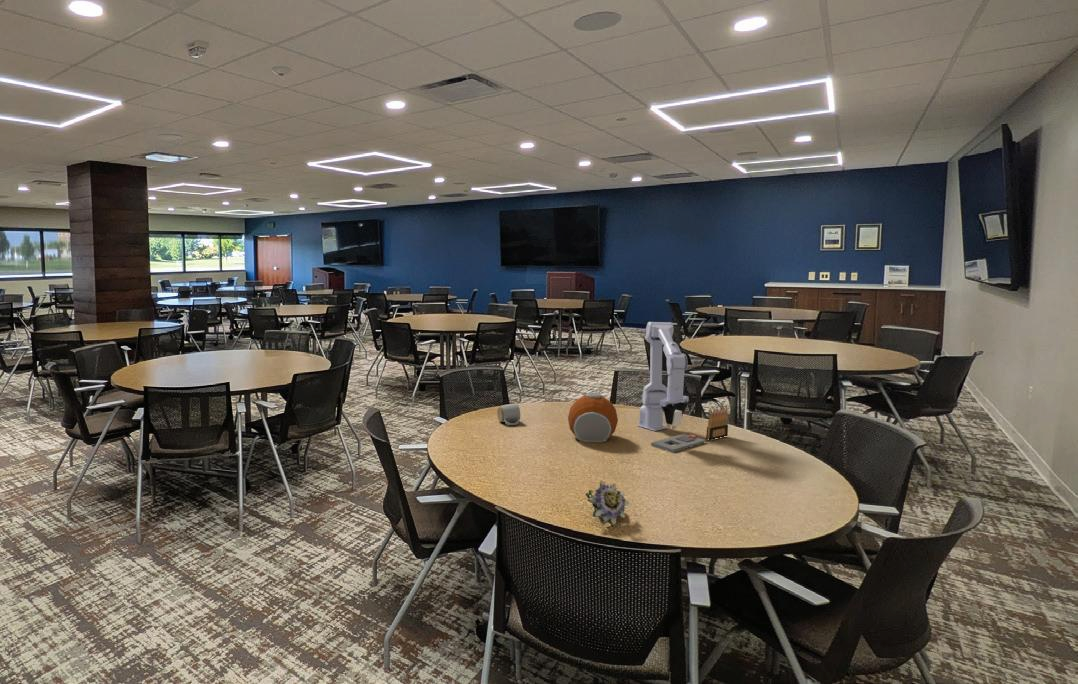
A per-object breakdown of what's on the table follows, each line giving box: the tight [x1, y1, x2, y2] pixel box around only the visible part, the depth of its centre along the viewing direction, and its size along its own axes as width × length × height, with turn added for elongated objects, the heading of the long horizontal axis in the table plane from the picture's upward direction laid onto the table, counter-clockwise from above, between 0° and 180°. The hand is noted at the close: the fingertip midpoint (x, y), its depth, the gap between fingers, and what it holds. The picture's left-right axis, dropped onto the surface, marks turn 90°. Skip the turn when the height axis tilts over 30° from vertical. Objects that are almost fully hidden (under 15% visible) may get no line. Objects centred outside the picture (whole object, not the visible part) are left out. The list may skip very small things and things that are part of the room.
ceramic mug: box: [496, 403, 521, 426], centre depth 239 cm, size 11×8×8 cm
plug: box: [663, 410, 683, 431], centre depth 213 cm, size 4×4×7 cm
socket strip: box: [650, 433, 707, 453], centre depth 216 cm, size 10×20×2 cm, turn 130°
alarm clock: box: [567, 392, 619, 443], centre depth 221 cm, size 19×18×17 cm
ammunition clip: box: [705, 406, 729, 441], centre depth 225 cm, size 11×2×12 cm, turn 124°
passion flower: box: [585, 480, 630, 526], centre depth 151 cm, size 11×11×12 cm
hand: (673, 422), depth 213 cm, fingers closed on plug, 4 cm apart
